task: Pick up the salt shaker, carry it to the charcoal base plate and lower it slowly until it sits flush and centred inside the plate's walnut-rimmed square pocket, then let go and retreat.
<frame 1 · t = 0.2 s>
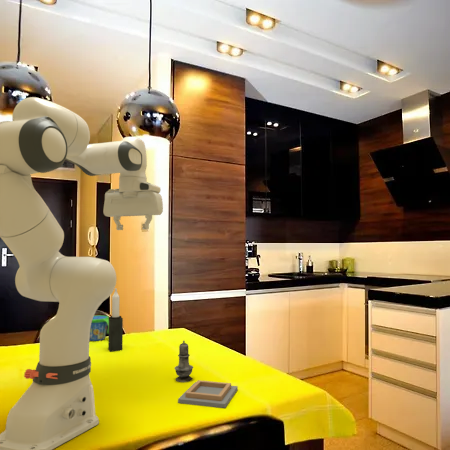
hand: (132, 229, 122), 47 cm above the table, fingers open, 8 cm apart
candle: (115, 350, 153), on the table
snack cup: (96, 340, 171), on the table
base plate: (209, 396, 103), on the table
salt shaker: (183, 379, 117), on the table
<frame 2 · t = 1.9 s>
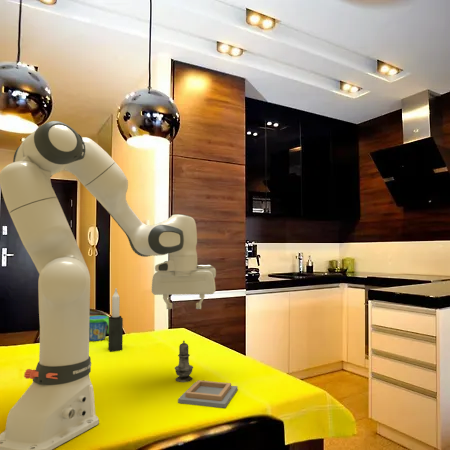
hand: (184, 308, 119), 22 cm above the table, fingers open, 8 cm apart
nothing on the table moved.
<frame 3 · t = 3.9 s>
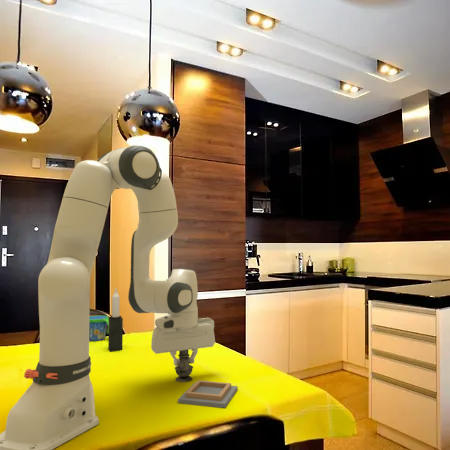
hand: (184, 364, 117), 5 cm above the table, fingers closed on salt shaker, 3 cm apart
salt shaker: (183, 379, 117), on the table, touching gripper
everything else where it was.
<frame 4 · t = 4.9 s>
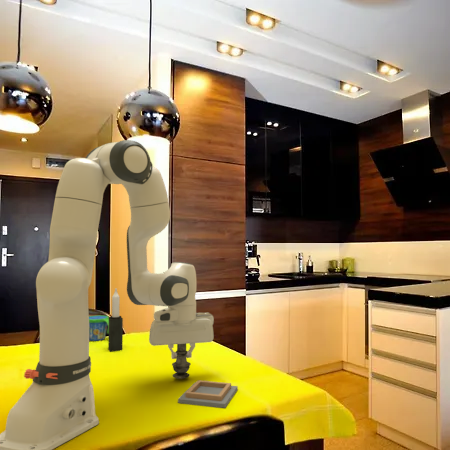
hand: (181, 357, 118), 7 cm above the table, fingers closed on salt shaker, 3 cm apart
salt shaker: (181, 376, 117), point 1 cm above the table, touching gripper
everything else where it was.
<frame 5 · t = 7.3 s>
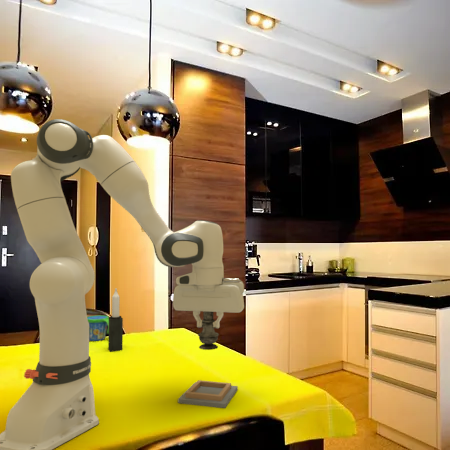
hand: (208, 327, 105), 19 cm above the table, fingers closed on salt shaker, 3 cm apart
salt shaker: (208, 348, 104), point 13 cm above the table, touching gripper
everything else where it was.
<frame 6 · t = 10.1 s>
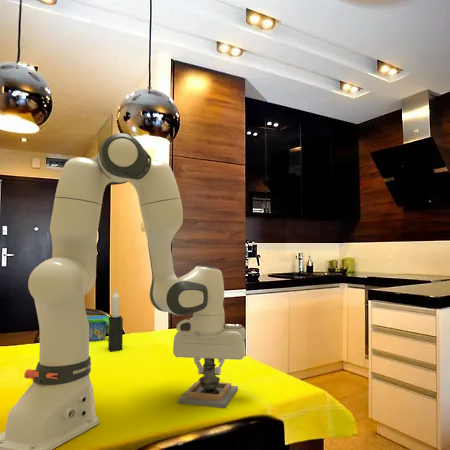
hand: (209, 374, 104), 6 cm above the table, fingers closed on salt shaker, 3 cm apart
salt shaker: (209, 393, 103), point 1 cm above the table, touching base plate, gripper
everything else where it was.
when the fingers open (6 cm above the table, at t = 11.1 s): salt shaker stays where it is, resting on base plate.
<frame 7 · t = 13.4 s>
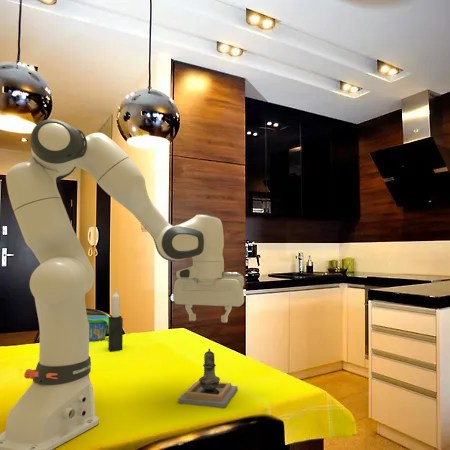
hand: (208, 321, 105), 20 cm above the table, fingers open, 8 cm apart
salt shaker: (209, 393, 103), point 1 cm above the table, touching base plate
everything else where it was.
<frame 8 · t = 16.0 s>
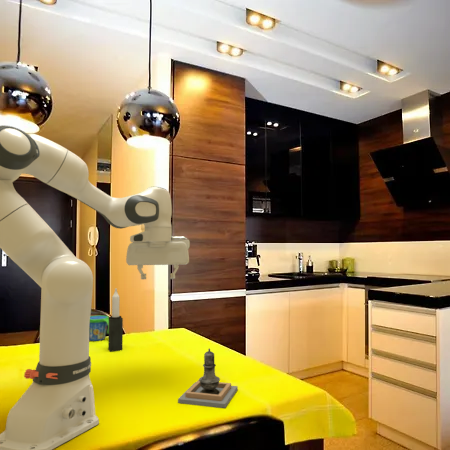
hand: (158, 279, 122), 31 cm above the table, fingers open, 8 cm apart
nothing on the table moved.
at the end: salt shaker 0.2 cm off-centre on the base plate, point 0.8 cm above the base plate's base; salt shaker tilted 0°; the gripper is holding nothing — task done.
